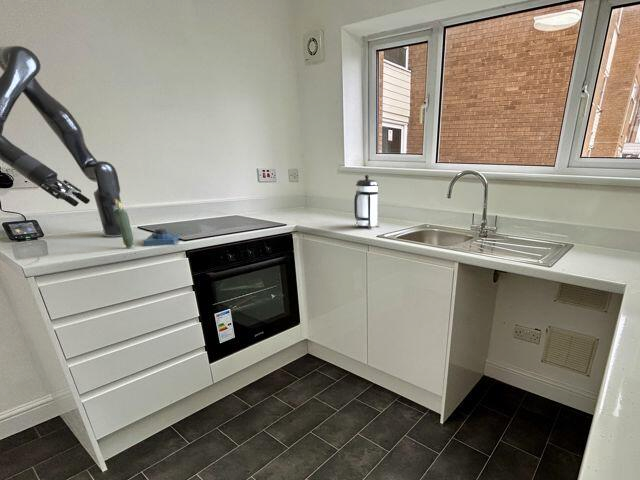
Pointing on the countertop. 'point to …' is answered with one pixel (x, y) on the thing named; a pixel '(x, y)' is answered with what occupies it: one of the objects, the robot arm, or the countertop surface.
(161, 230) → the button
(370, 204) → the coffee press
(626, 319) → the countertop surface
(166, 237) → the button box
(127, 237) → the vegetable
